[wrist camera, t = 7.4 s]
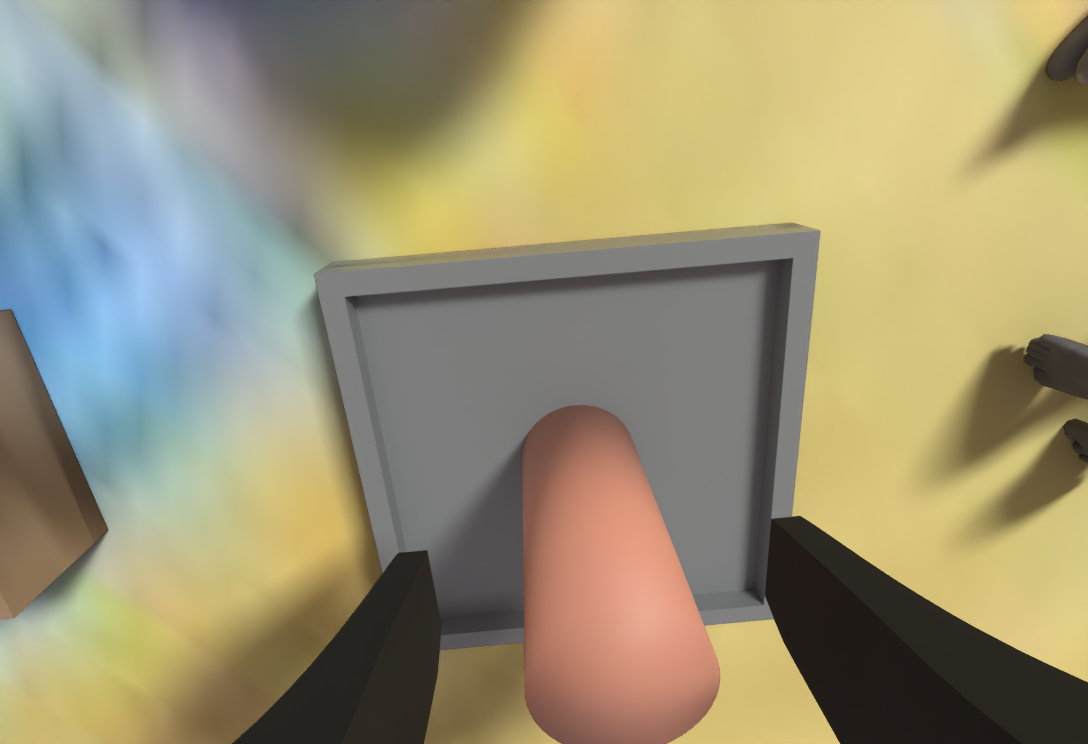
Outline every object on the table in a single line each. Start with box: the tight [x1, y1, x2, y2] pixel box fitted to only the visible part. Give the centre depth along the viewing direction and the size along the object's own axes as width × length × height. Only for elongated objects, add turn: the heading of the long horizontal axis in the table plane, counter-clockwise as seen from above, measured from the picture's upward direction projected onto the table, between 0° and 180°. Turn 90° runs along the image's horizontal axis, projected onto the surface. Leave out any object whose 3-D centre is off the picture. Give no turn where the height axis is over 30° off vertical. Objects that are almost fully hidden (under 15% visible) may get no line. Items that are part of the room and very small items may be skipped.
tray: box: [314, 223, 820, 650], centre depth 16 cm, size 12×12×2 cm
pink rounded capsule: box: [522, 405, 720, 744], centre depth 13 cm, size 3×3×8 cm
